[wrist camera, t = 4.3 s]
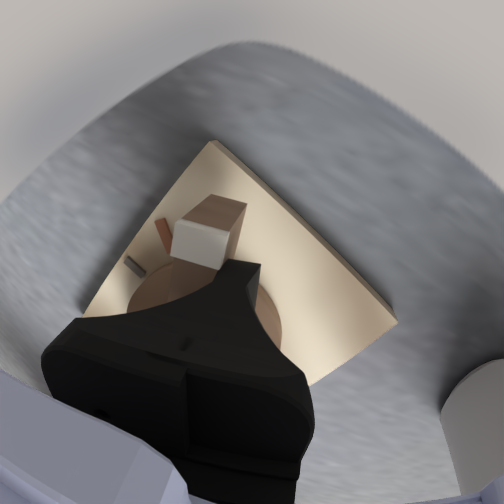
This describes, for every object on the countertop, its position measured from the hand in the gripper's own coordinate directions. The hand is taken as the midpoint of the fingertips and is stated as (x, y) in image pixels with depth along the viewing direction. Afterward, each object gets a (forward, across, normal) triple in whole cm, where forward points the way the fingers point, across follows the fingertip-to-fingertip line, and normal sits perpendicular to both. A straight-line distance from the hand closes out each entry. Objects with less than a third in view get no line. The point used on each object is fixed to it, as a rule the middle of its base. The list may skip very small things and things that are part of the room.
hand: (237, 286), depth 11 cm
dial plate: (+4, +2, +5) cm, 7 cm away
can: (+5, -17, +8) cm, 20 cm away
